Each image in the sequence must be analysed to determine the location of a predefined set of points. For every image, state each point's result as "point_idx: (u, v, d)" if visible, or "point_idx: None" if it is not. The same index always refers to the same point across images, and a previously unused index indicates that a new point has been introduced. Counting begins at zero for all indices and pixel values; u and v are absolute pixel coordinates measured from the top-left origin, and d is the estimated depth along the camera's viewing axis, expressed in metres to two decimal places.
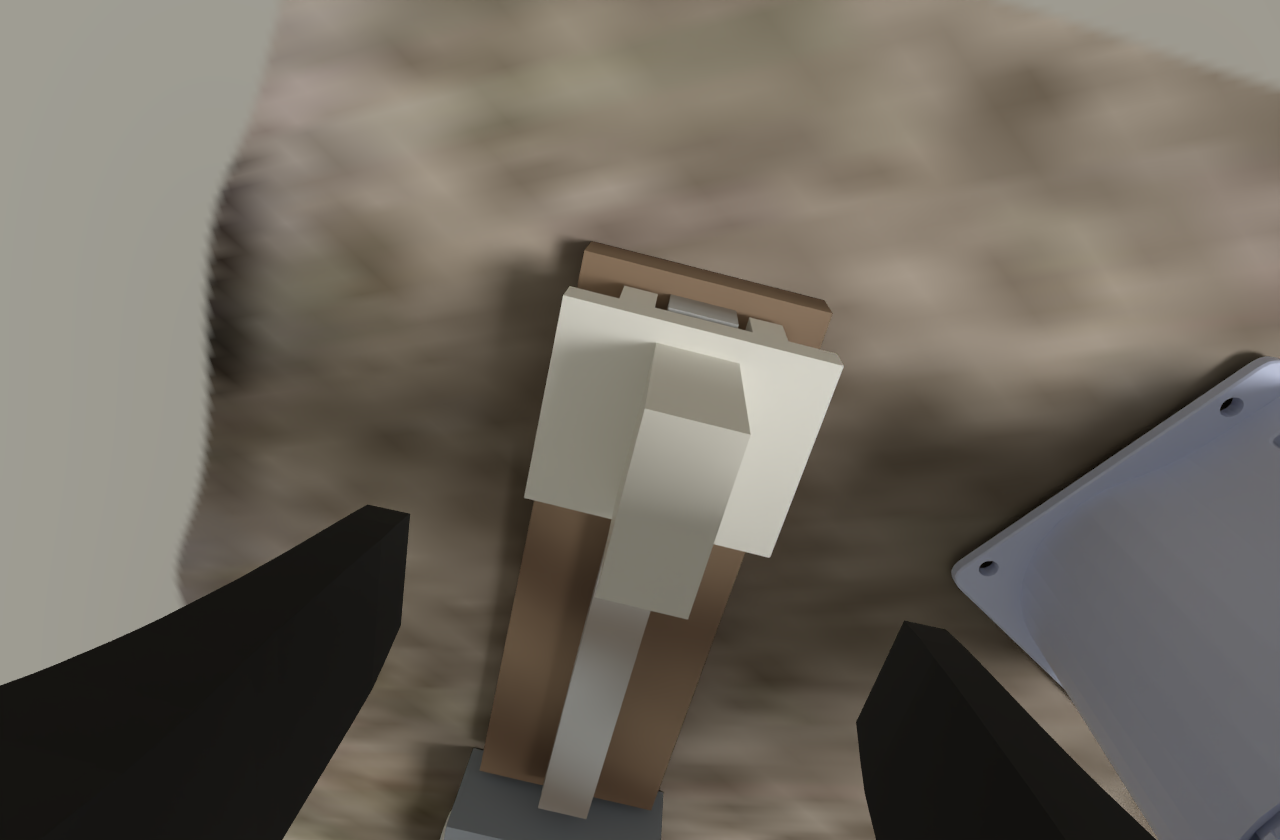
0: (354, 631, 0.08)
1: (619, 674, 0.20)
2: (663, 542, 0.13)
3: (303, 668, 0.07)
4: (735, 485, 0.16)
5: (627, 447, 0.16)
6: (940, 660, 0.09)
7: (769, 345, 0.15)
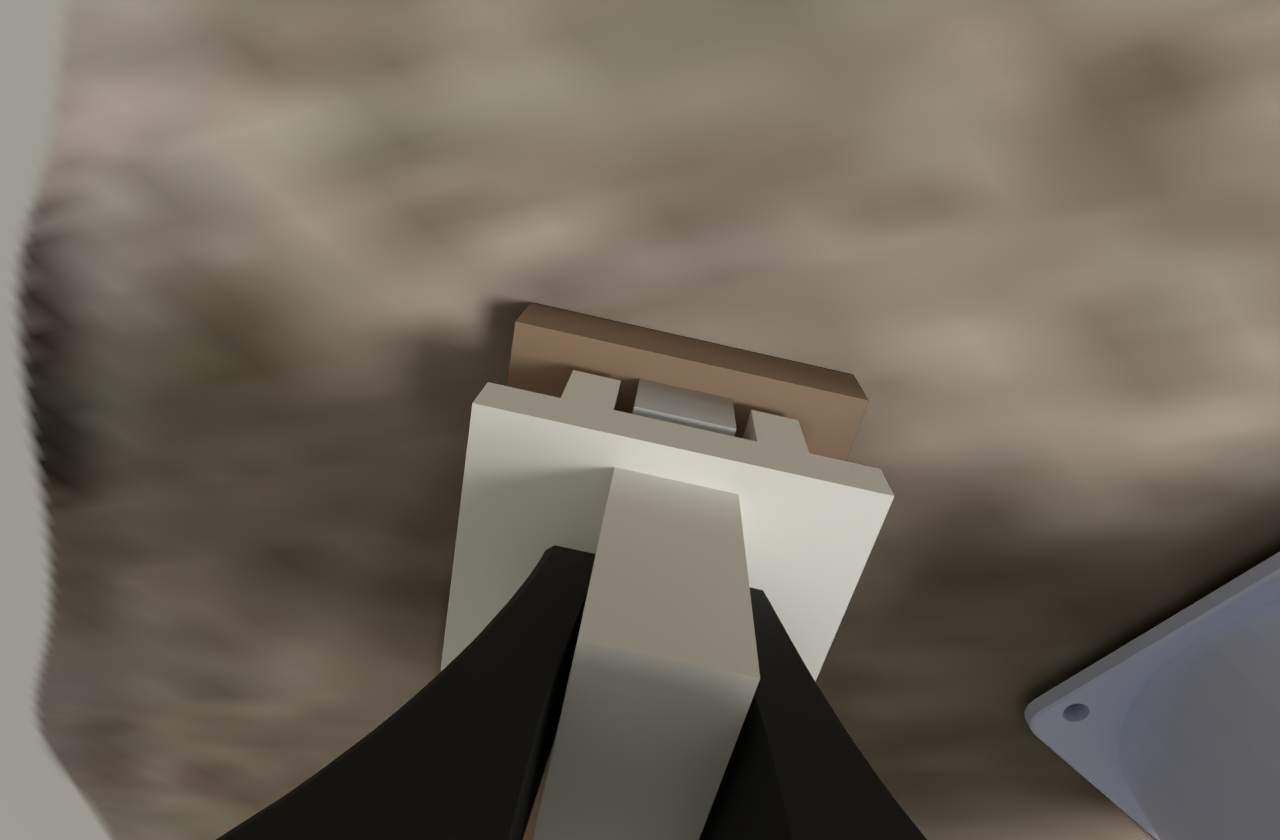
0: (565, 676, 0.09)
1: None
2: (622, 825, 0.08)
3: (546, 719, 0.07)
4: None
5: None
6: None
7: (782, 467, 0.10)
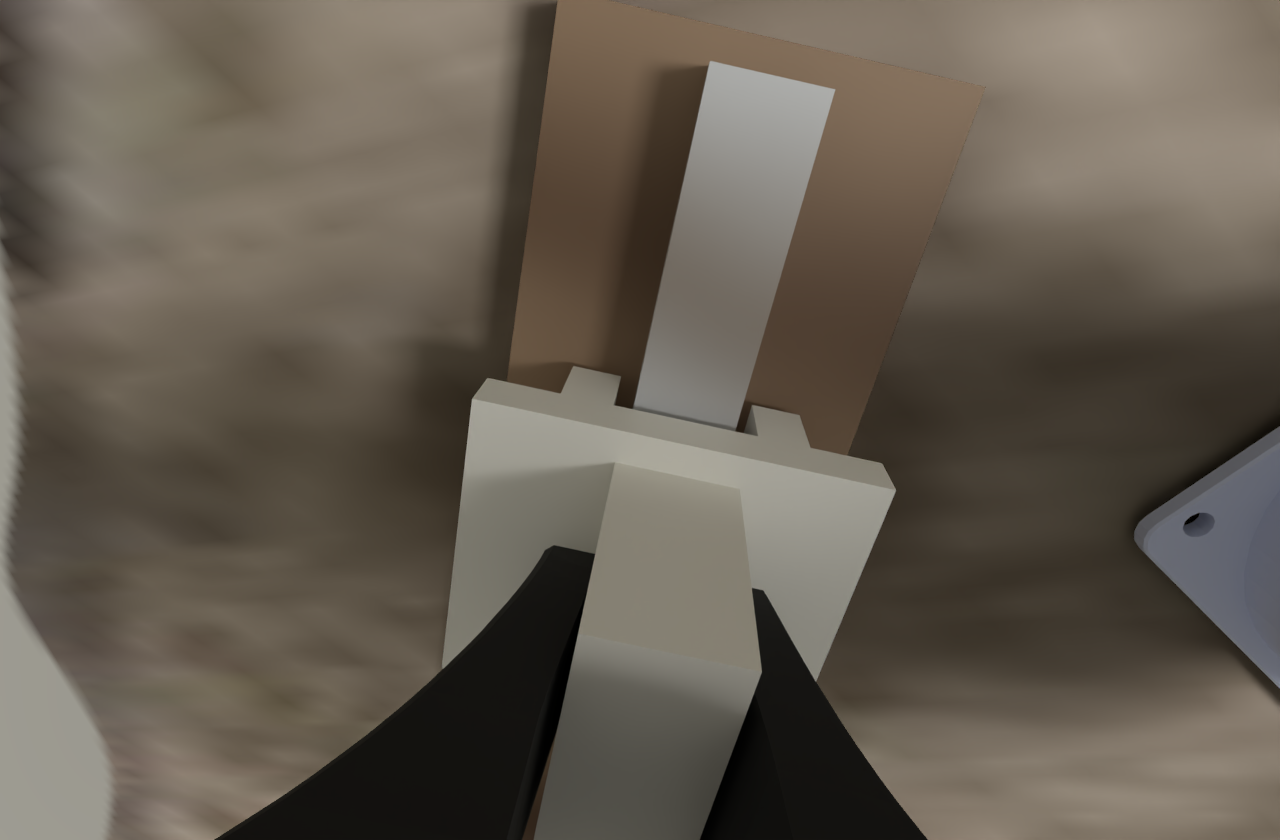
0: (565, 676, 0.09)
1: None
2: (624, 820, 0.08)
3: (545, 719, 0.07)
4: None
5: None
6: None
7: (783, 461, 0.10)
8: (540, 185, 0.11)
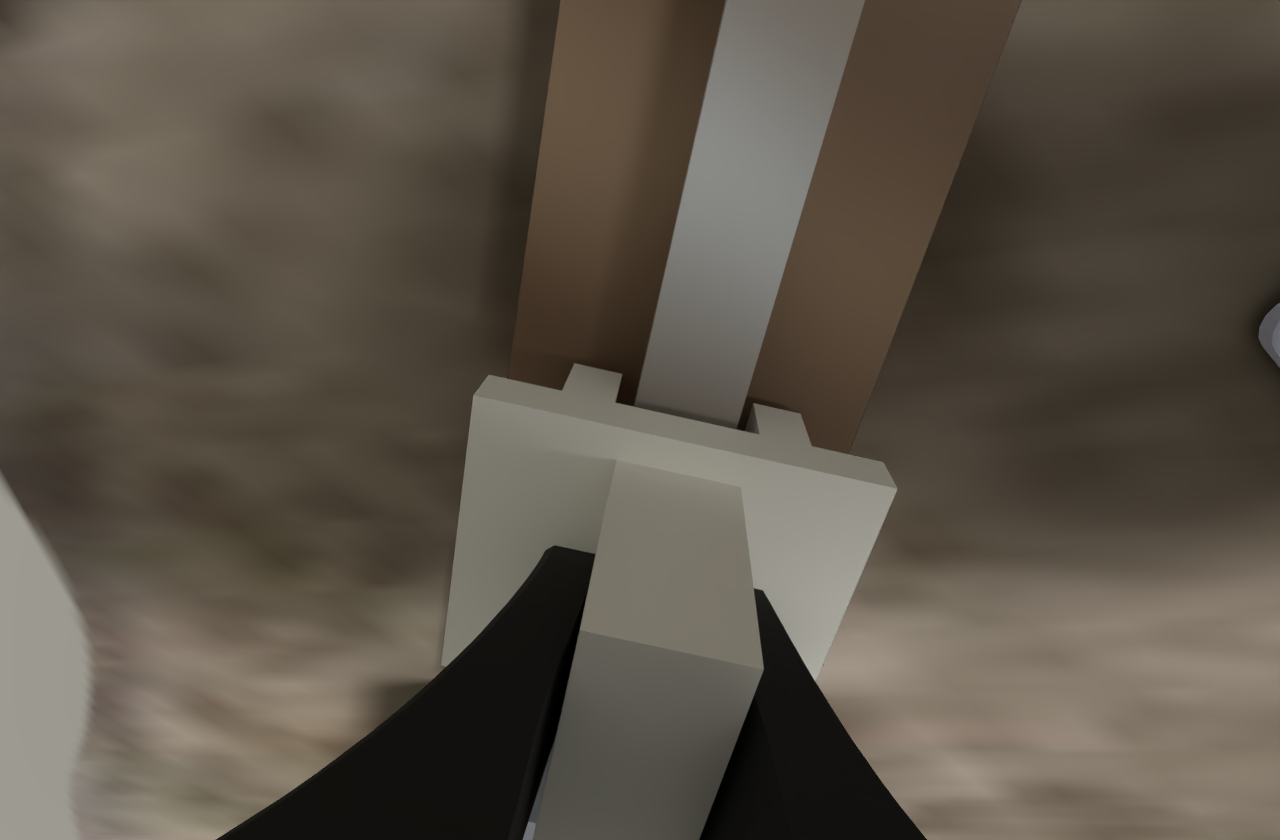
0: (565, 676, 0.09)
1: None
2: (624, 817, 0.08)
3: (546, 719, 0.07)
4: None
5: None
6: None
7: (785, 459, 0.10)
8: None
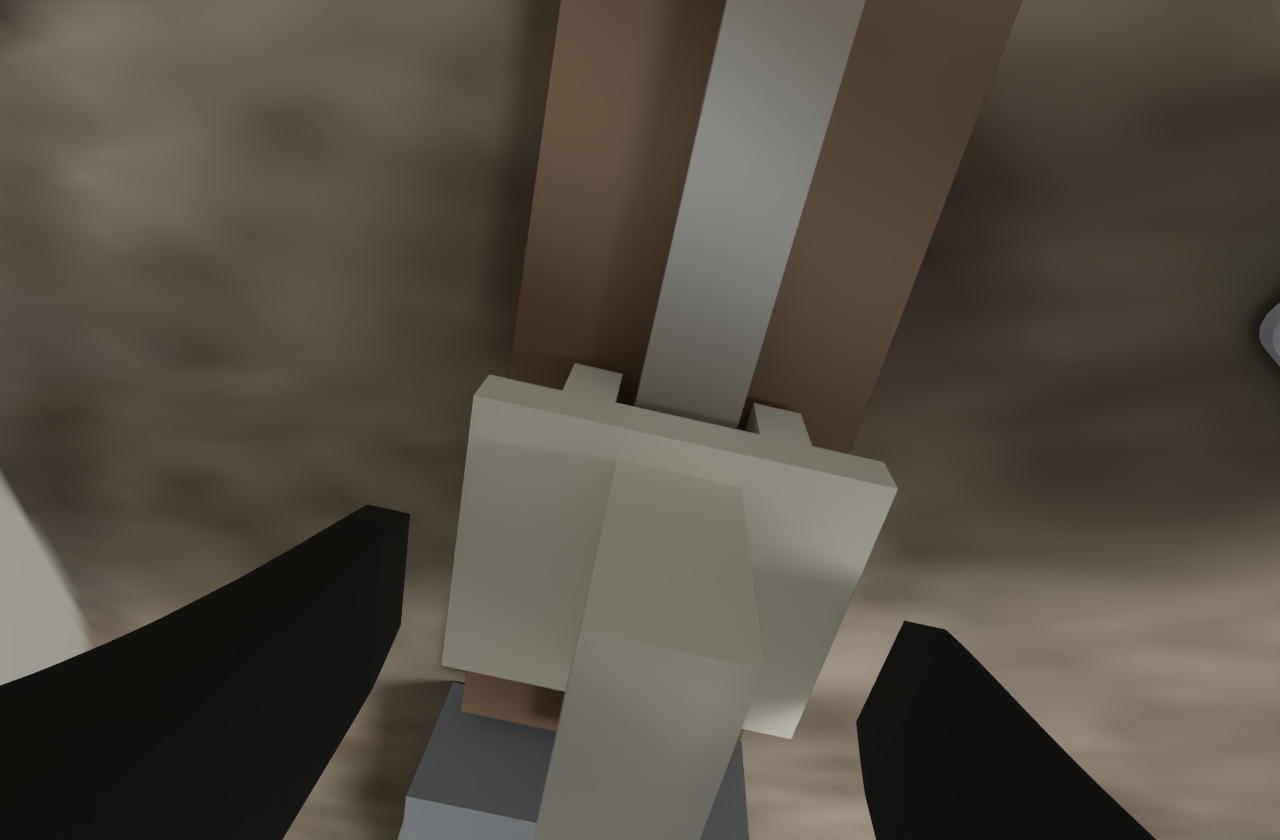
0: (354, 631, 0.08)
1: None
2: (625, 818, 0.08)
3: (303, 668, 0.07)
4: None
5: (582, 600, 0.11)
6: (940, 660, 0.09)
7: (785, 459, 0.10)
8: None
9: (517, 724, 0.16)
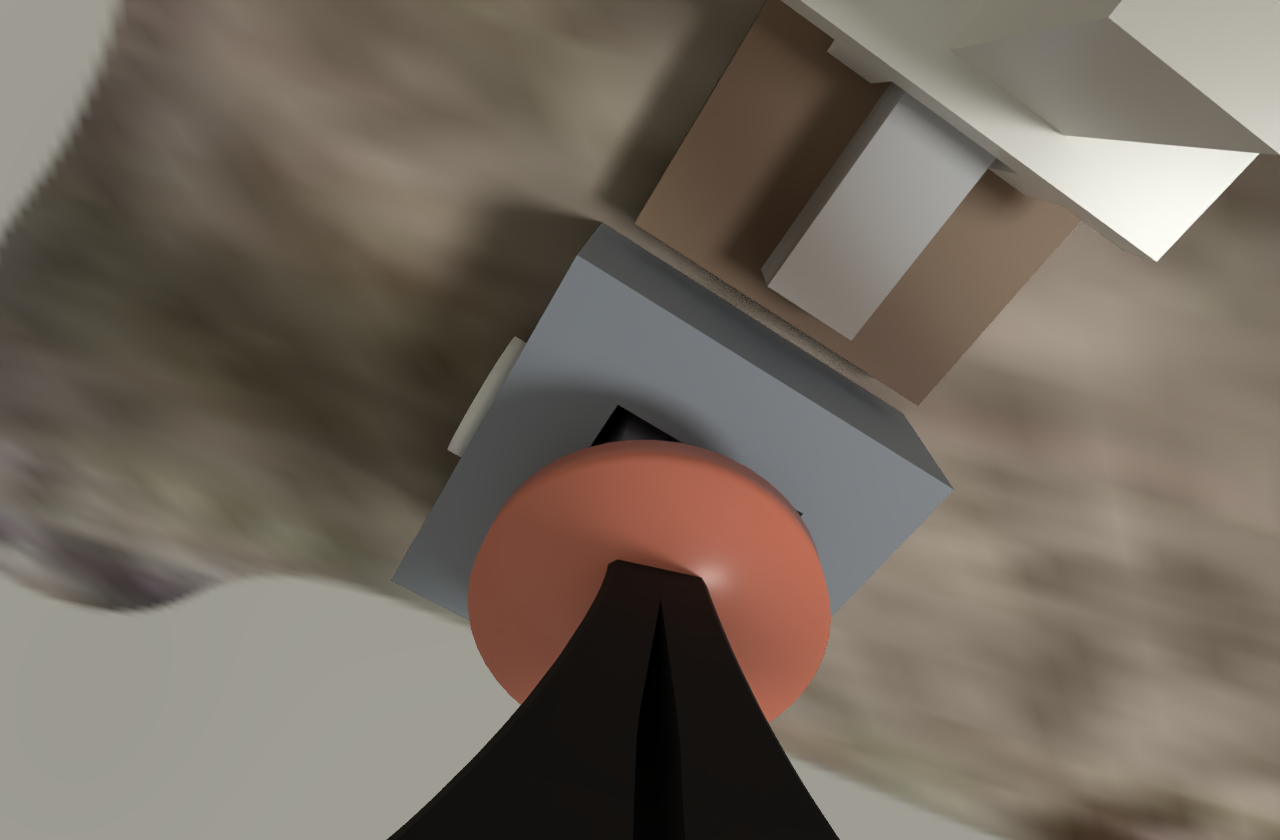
0: None
1: None
2: None
3: None
4: None
5: None
6: (667, 601, 0.09)
7: None
8: None
9: (680, 283, 0.12)
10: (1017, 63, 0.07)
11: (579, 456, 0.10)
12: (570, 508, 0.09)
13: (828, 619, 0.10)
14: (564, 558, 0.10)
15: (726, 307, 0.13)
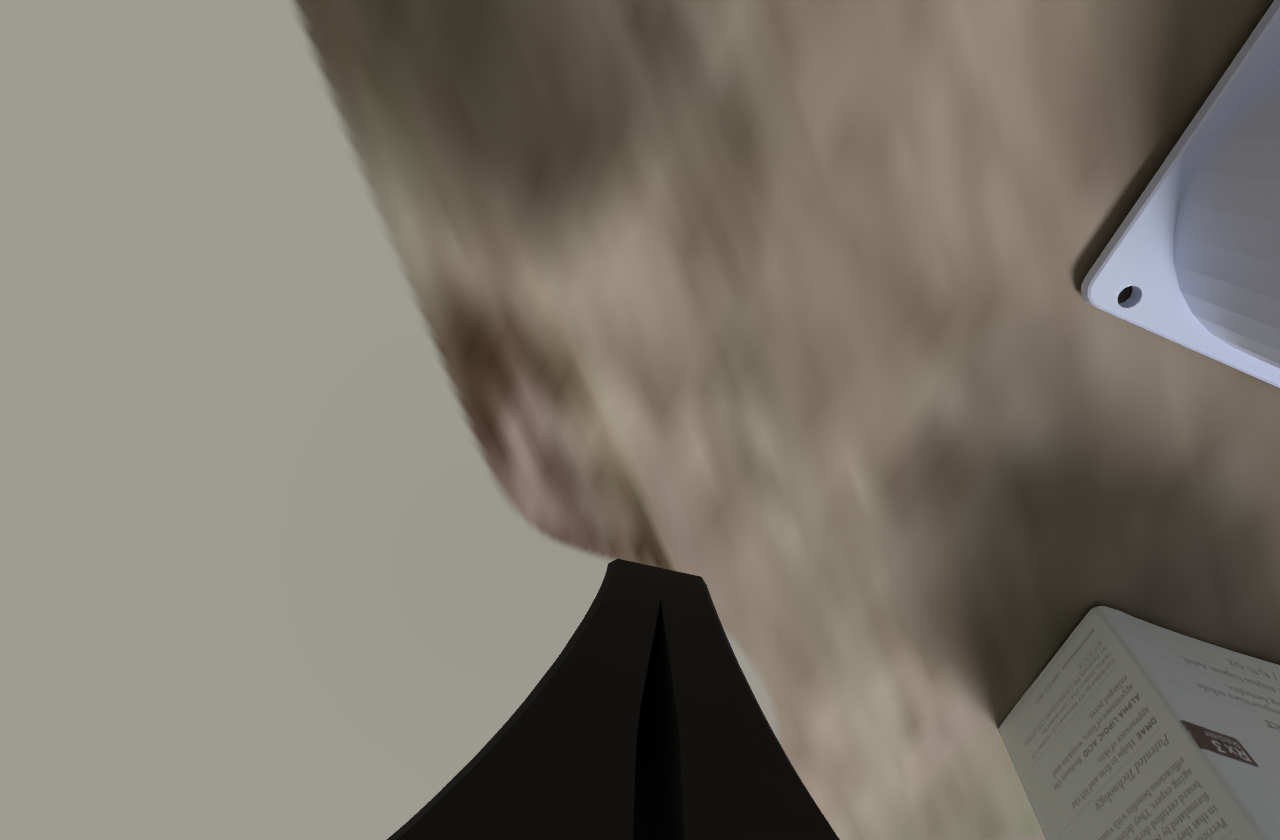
0: None
1: None
2: None
3: None
4: None
5: None
6: (667, 601, 0.09)
7: None
8: None
9: None
10: None
11: None
12: None
13: None
14: None
15: None
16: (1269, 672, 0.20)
